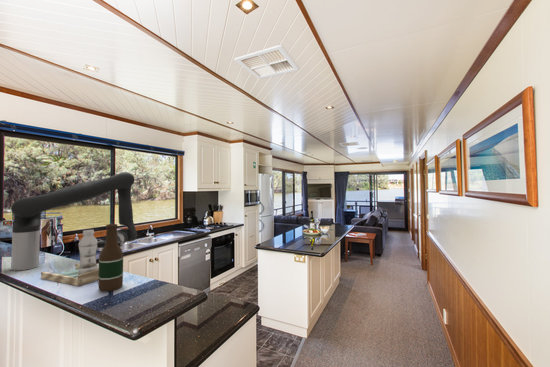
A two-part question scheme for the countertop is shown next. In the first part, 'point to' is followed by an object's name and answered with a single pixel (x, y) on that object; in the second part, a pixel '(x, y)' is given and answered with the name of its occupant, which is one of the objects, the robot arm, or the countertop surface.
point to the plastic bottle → (87, 252)
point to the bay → (72, 276)
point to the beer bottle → (110, 262)
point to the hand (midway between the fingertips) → (95, 248)
